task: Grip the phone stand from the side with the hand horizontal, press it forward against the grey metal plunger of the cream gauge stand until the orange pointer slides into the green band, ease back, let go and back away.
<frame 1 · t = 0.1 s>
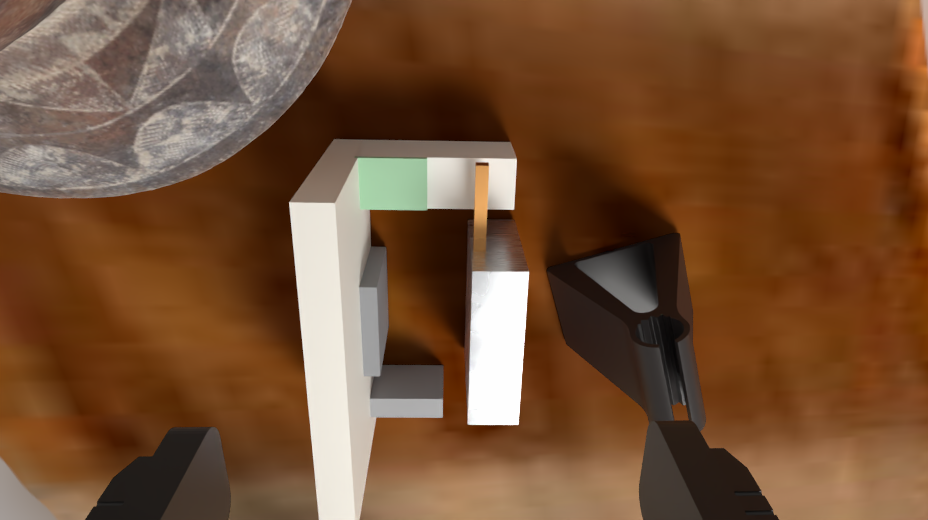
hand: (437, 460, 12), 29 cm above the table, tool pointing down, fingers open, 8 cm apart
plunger: (493, 281, 38), point 4 cm above the table, slide at 0.0 cm
phone stand: (618, 287, 44), on the table
gauge stand: (414, 286, 43), on the table
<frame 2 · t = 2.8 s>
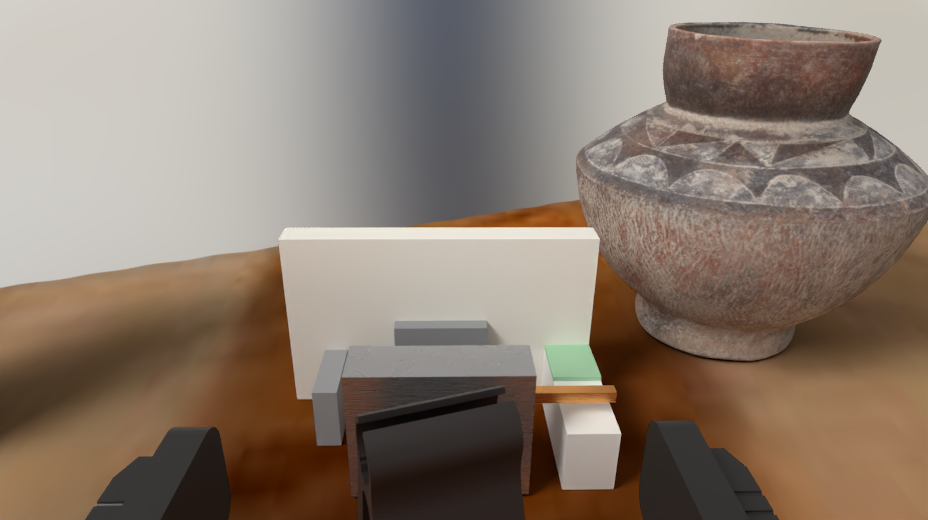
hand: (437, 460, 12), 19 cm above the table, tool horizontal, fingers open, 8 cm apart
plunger: (484, 420, 36), point 4 cm above the table, slide at 0.0 cm
ceramic pot: (709, 325, 54), on the table
gauge stand: (440, 423, 42), on the table
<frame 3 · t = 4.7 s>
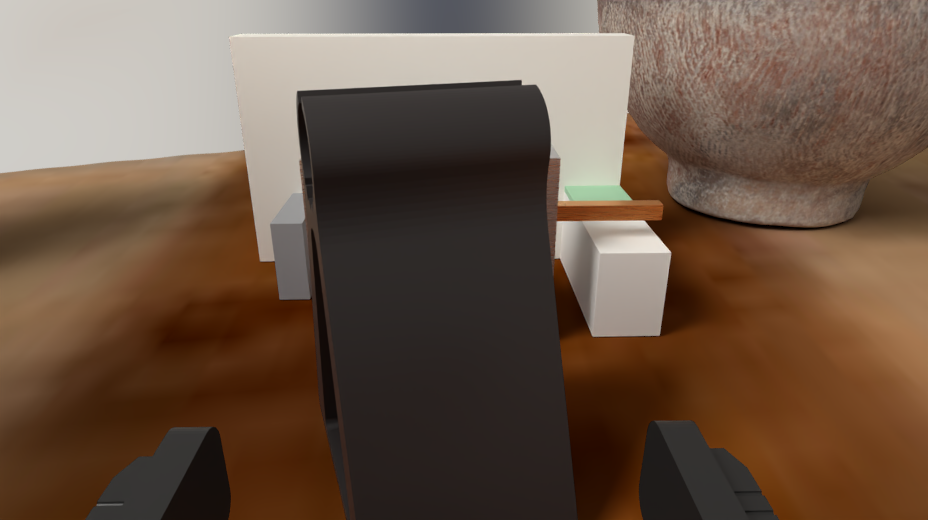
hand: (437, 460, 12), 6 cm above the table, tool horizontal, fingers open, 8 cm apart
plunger: (491, 241, 27), point 4 cm above the table, slide at 0.0 cm
phone stand: (430, 470, 21), on the table
ceramic pot: (756, 203, 46), on the table
gauge stand: (436, 280, 33), on the table
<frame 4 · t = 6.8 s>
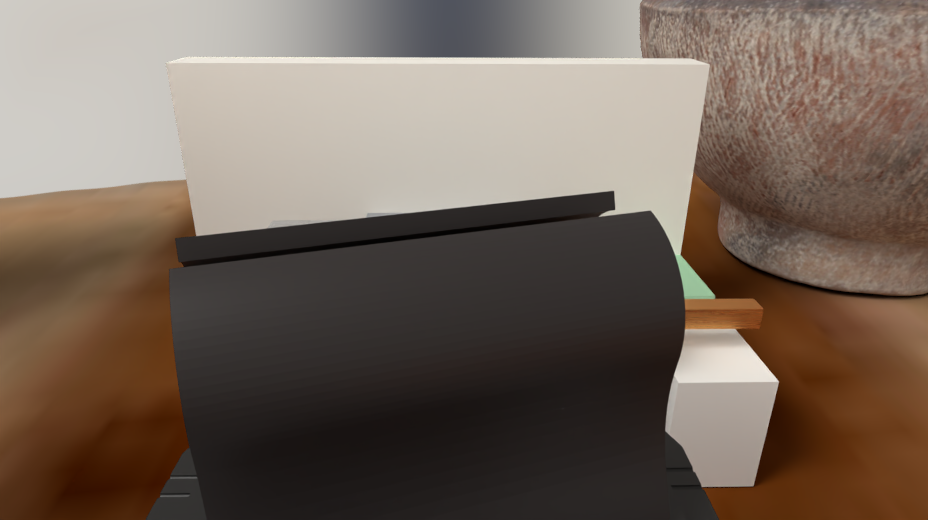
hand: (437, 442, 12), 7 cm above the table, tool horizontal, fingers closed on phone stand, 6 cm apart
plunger: (522, 359, 19), point 4 cm above the table, slide at 0.0 cm
ceramic pot: (827, 256, 38), on the table
gauge stand: (442, 381, 26), on the table
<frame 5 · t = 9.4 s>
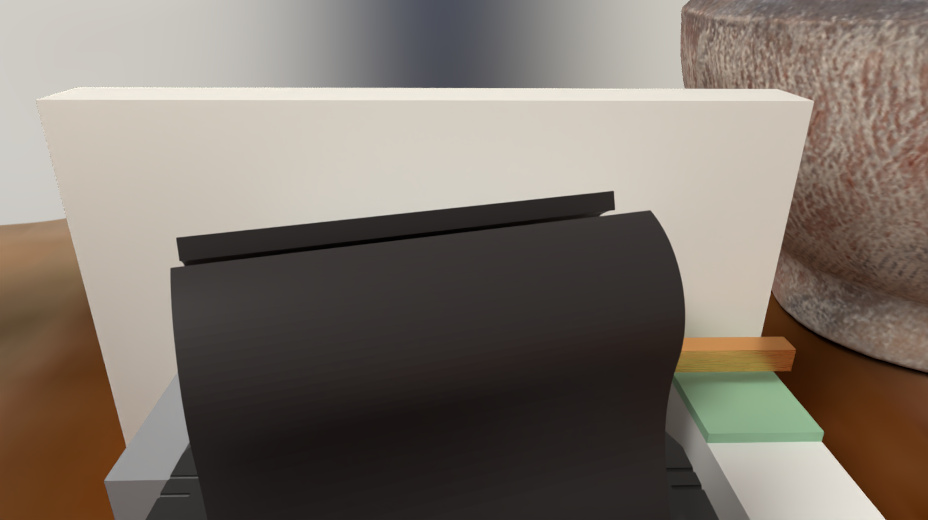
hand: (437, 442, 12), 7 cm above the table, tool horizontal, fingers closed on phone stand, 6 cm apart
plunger: (526, 407, 17), point 4 cm above the table, slide at 5.3 cm, touching phone stand, gauge stand
ceramic pot: (905, 317, 31), on the table
when the fingers open (7 cm above the table, at t = 10.7 s): phone stand stays where it is, on the table.
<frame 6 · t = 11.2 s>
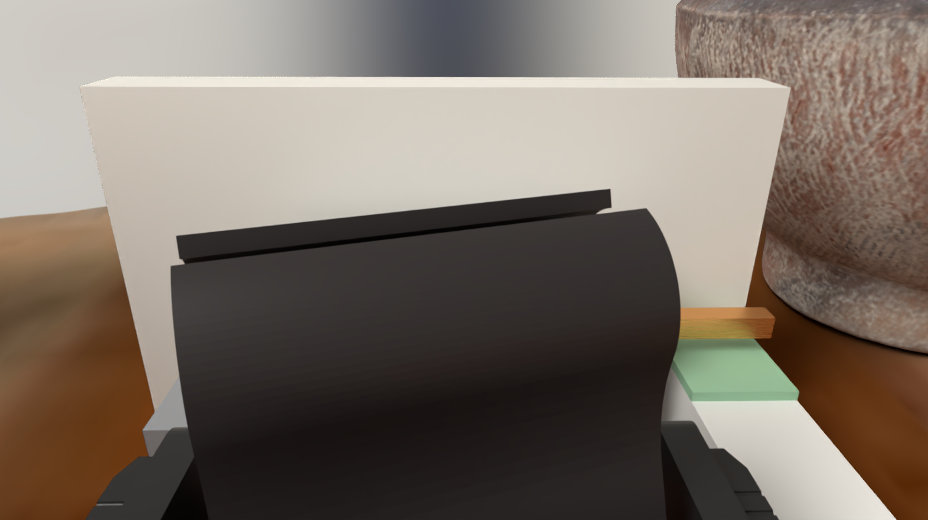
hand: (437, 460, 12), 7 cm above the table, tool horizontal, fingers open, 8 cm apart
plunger: (526, 370, 19), point 4 cm above the table, slide at 5.3 cm, touching gauge stand
ceramic pot: (891, 301, 33), on the table
gauge stand: (442, 488, 20), on the table
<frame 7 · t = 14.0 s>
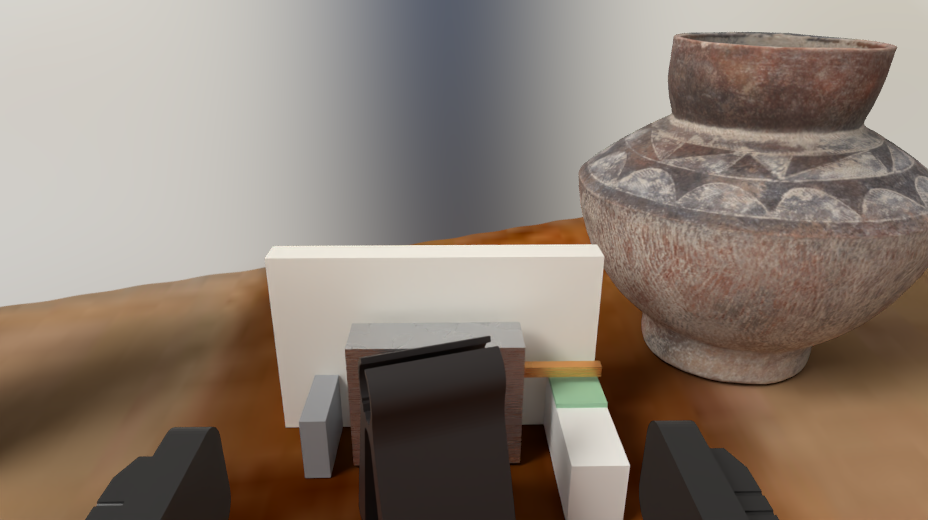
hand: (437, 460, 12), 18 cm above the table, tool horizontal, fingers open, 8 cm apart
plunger: (478, 393, 38), point 4 cm above the table, slide at 5.3 cm, touching gauge stand
ceramic pot: (720, 347, 52), on the table
gauge stand: (437, 453, 39), on the table
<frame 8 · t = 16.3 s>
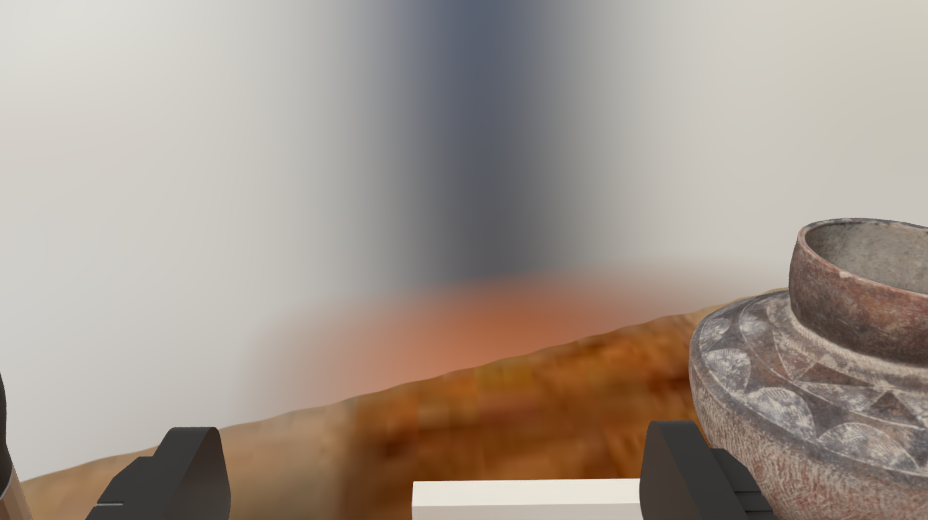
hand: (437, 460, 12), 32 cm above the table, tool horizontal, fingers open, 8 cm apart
ceramic pot: (823, 519, 52), on the table
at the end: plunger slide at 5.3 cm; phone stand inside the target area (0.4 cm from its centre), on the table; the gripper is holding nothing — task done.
